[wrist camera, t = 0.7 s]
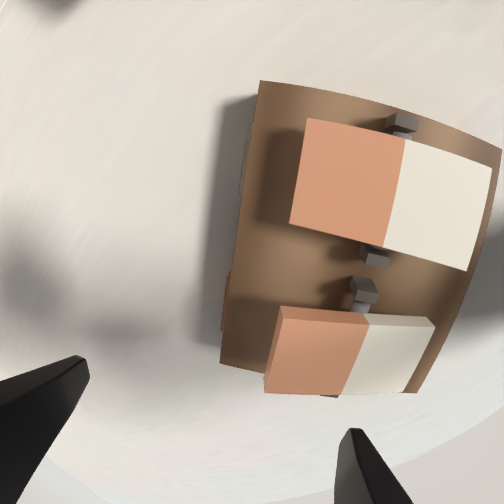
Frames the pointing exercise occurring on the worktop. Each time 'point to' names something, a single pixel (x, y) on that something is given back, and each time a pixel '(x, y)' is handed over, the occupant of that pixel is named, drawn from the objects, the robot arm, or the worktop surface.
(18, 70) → the worktop surface
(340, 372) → the block
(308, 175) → the rocker
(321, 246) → the switch unit
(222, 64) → the worktop surface
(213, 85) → the worktop surface
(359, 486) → the robot arm
